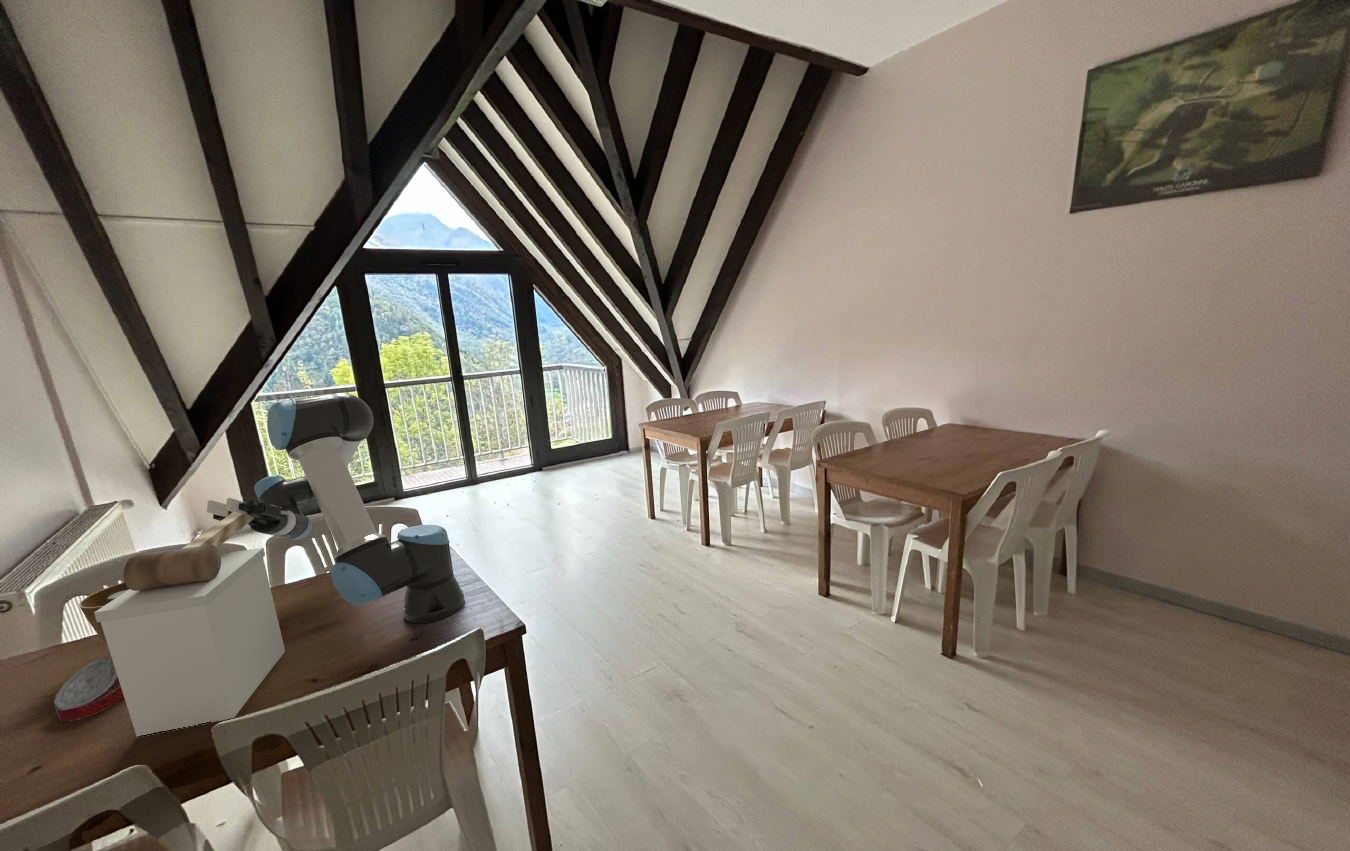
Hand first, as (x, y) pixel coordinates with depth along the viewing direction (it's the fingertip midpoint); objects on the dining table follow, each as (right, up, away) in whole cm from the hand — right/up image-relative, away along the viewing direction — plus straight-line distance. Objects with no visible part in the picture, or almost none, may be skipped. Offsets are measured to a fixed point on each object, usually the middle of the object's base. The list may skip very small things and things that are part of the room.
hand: (218, 505), depth 117 cm
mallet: (+2, -11, -4) cm, 11 cm away
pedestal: (+6, -39, -6) cm, 40 cm away
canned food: (-19, -41, -8) cm, 46 cm away
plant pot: (-28, -38, +10) cm, 48 cm away
